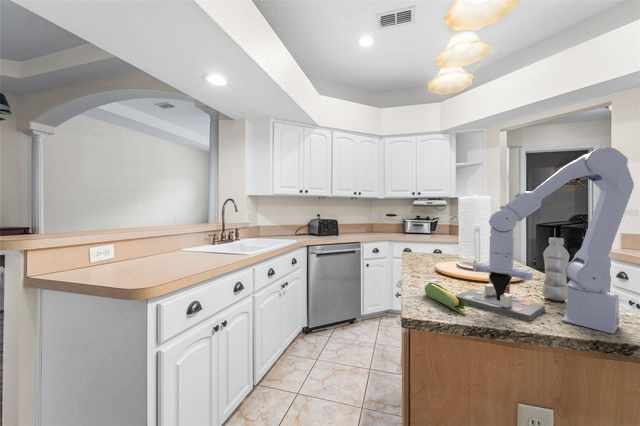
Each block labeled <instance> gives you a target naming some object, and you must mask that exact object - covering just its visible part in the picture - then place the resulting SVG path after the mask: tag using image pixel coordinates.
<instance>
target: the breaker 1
mask: <svg viewBox="0 0 640 426" xmlns="http://www.w3.org/2000/svg"><path fill="white" fill-rule="evenodd" d="M484 292H485V295H489V296H492V295H494V294H496V291H495V288H494V286H493V284H489V283H487V284H484Z"/></svg>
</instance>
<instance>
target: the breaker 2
mask: <svg viewBox="0 0 640 426" xmlns="http://www.w3.org/2000/svg"><path fill="white" fill-rule="evenodd" d="M512 298H513V294H510V293H509V294H507V293H505V294H503V295H500V306H502V307H506V308H508V307H510V306H512Z"/></svg>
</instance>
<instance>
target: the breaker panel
mask: <svg viewBox="0 0 640 426" xmlns="http://www.w3.org/2000/svg"><path fill="white" fill-rule="evenodd" d="M454 295H455V296H457V297H458V298H460V299H461V300H463V301H464V302H466V303H467V304H468V305H469V306H472V307H475V308H479V309H482V310H487V311H490V312H494V313H498V314H502V315H505V316H509V317H513V318H516V319H519V320H524V321H527V322H530V321H532V320H533V319H535V318H536V317H537V316H539V315H541V314H542V313H543V312H545V311H546V305H545V304H540V303H536V302H532V301H527V300H523V299H519V298H513V297H512V306H510V307H508V308H506V307H502V306H500V301H499V300H497V294H494V295H492V296H489V295H485V291H483V290H478V289H473V288H471V289H469V290H467V291H464V292H461V293H458V294H454Z"/></svg>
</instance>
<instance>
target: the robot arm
mask: <svg viewBox="0 0 640 426" xmlns="http://www.w3.org/2000/svg"><path fill="white" fill-rule="evenodd" d="M628 161H629V158H628V157H627V156H626V155H624V153H622V152H621V151H619V149H617V148H614V147H610V146H603V147H598V148H596V149H594V150H593V151H591V152H589V153H585V154H582V155H581V156H579V157H578V158H577V159H574V160H572V161H571V162H569V163H567V164H566V165H564V166H563V167H561V168H560V169H559V170H558V171H556V172H555V173H553V175H551V176H550V177H549V178H547V179H546V180H544V182H542V183H541V184H540V185H538V186H537V187H536V188H535V189H533V190H532V191H522V192H521V193H520V192H518V193H516V194H514V196H513V197H514V198H512V199H511V200H510V201H509V202H508V203H507V204H505V205H503V204H502V205H500V207H499V209H500V210H497V211H495V212H493V213H492V214H491V215H490V217H489V219H488V223H489V226H490V227H491V228H490V232H489V234H490V236H489V259H488V260H489V263H488V264H482V263H481V264H480V263H473V264H472V271H475V272H478V271H479V272H483V273H488V274H489V273H491V275H490V276H489V275H488V279H489V278H490V280H491V282H492V284H493V286H494V288H495V291H496V294H497V300H499V301H500V295H503V294H504V291H505V289H506V287H507V285H508V283H509V282H510V283H511V280H512V278H517V279H521V280H522V279H523V280H526V281H532V280H533V272H531V271H527V270H522V269H518V268H514V241H515V240H514V229H515V227H516V225H517V222H521V221H523V220H524V219H526V218H527V217H529V215H531V214H532V213H534V212H535V211H537V210H538V209H540V208H541V207H542V200H544V198H546V197H548V196H549V195H551V194H553V193H554V192H555V191H557V190H558V189H559V188H562V187H563V186H564V185H565V184H567V183H569V182H570V181H572V180H575V179H579V178H585V179H588V180H589V181H592V182H593V183H594V185H595V186H596V187H598V189H600V194H599V196H598V198H597V199H598V200H597V202H596V205H595V207H594V211H593V213H592V216H591V219H590V220H589V221H590V222H589V224H588V228H587V231H586V233H585V235H584V239H583V242H582V244H581V247H580V249H578V251H577V252H576V253H575V254H574V256H573V258H572V260H571V261H568V264H567V266H566V268H565V272H566V277H567V278H568V279H569V281H568V282H567V299H566V315H565V316H564V317H562V318H561V321H562V322H564V323H568V324H573V325H576V326H581V327H584V328H589V329H592V330H597V331H600V332H605V333H608V334H615V333H616V331H617V330H618V328H619V325H620V317H619V315H620V314H619V313H620V312H619V311H620V300H619V299H620V296H619V294H618V293H614V292H609V291H608V290H607V288H608V287H609V286H610V285H611V282H612V277H611V273H610V271H611V267H612V263H611V260H610V257H609V256H610V252H611V250H612V246H613V244H614V241H615V239H616V235H617V233H618V231H619V229H620V228H619V227H620V225H621V222H622V220H623V217H624V214H625V211H626V209H627V206H628V204H629V201H630V198H631V195H632V193H633V190H634V187H635V183H634V180H633V178H632V174H631V172H630V169H629V166H628V163H629V162H628ZM506 273H507V274H506Z"/></svg>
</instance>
